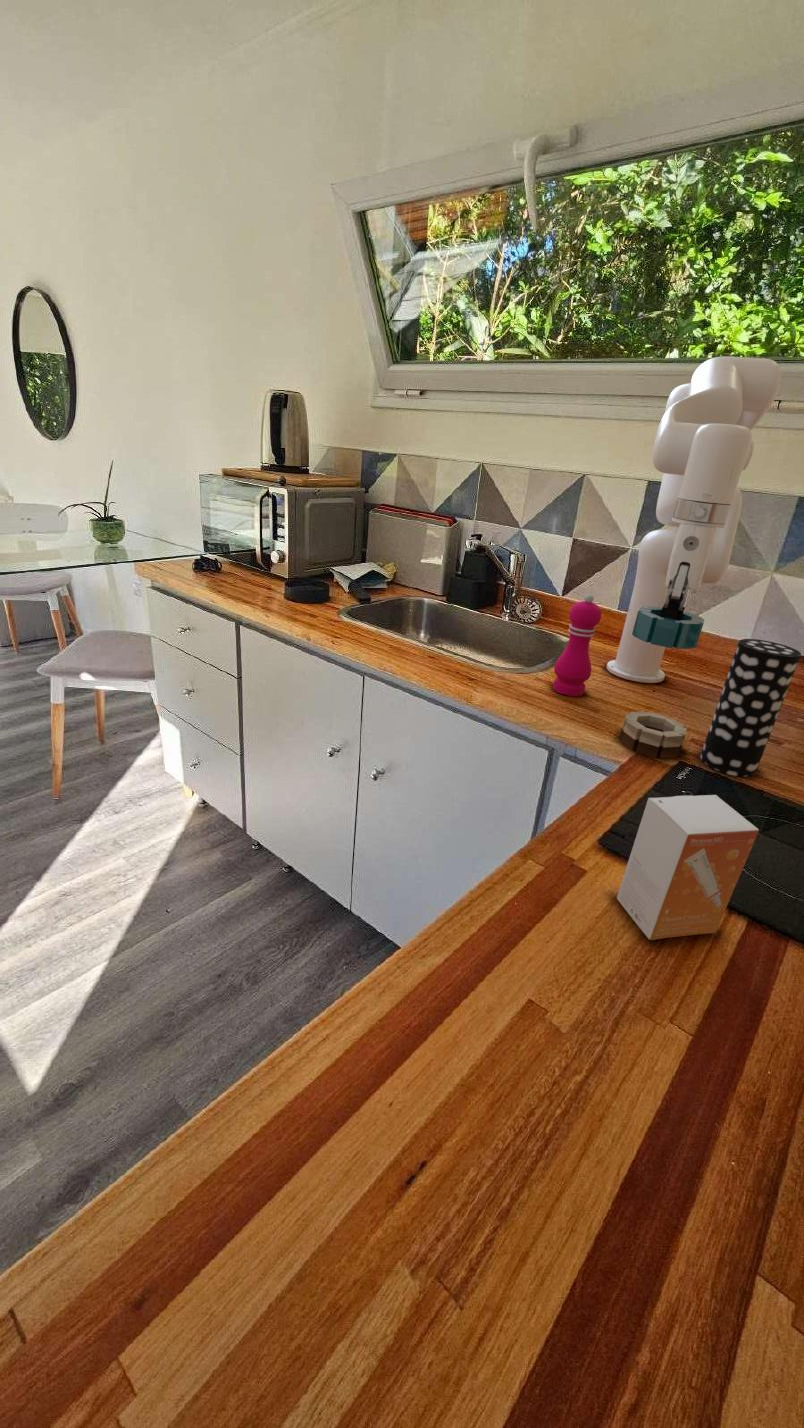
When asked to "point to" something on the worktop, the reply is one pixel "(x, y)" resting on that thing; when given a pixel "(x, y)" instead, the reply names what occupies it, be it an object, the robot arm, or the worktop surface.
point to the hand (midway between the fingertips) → (667, 629)
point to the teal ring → (667, 629)
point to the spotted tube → (749, 706)
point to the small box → (685, 865)
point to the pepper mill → (577, 649)
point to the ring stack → (653, 734)
